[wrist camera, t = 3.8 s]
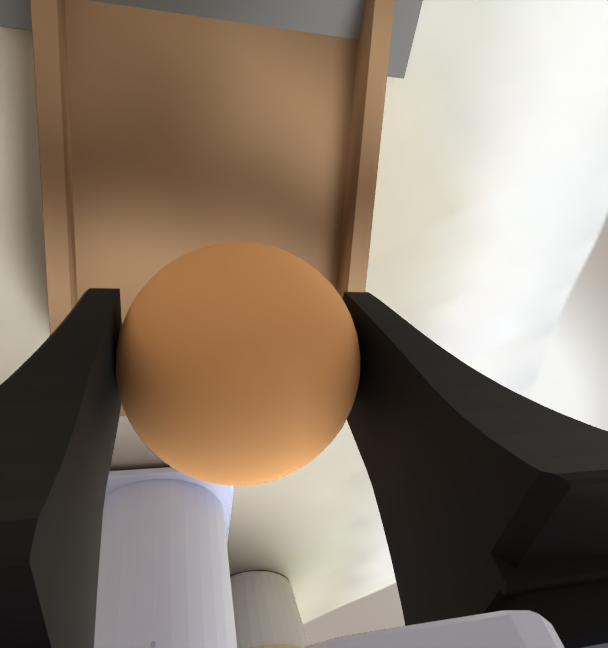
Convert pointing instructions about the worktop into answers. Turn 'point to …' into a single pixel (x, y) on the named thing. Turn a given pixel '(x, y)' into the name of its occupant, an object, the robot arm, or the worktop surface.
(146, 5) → the mat
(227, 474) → the ball
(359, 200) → the ramp
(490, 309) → the worktop surface
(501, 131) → the worktop surface
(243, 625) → the coffee cup
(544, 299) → the worktop surface
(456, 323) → the worktop surface
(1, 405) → the robot arm
